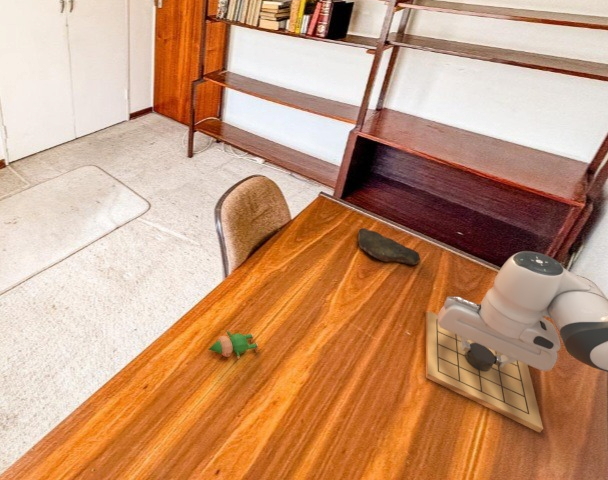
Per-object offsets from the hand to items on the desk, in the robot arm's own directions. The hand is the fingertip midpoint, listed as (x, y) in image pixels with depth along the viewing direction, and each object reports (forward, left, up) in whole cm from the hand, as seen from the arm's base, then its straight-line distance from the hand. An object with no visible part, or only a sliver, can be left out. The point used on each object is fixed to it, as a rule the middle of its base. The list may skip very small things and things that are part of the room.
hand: (480, 356), depth 92 cm
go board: (0, 0, -3) cm, 3 cm away
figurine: (+50, +29, -4) cm, 58 cm away
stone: (+21, -29, -4) cm, 36 cm away
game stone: (0, 0, -2) cm, 2 cm away
